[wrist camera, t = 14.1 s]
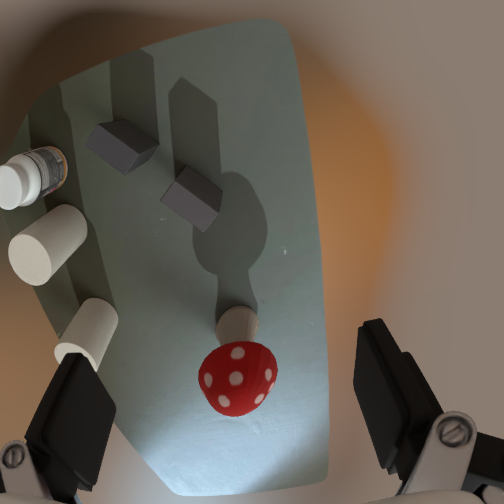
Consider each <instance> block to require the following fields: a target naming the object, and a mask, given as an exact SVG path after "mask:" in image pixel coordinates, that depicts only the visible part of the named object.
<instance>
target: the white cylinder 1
mask: <svg viewBox="0 0 504 504" xmlns="http://www.w3.org/2000/svg"><path fill="white" fill-rule="evenodd" d="M86 236H87V223H86V220H85V218H84V216H83V214H82V213H81V212H80V211H79V210H78V209H77V208H75V207H74V206H71V205H68V204H63V205H59V206H57V207H56V208H54V209H53V210H51V211H50V212H48V213H47V214H45V215H44V216H43V217H41V218H40V219H38V220H37V221H35V222H34V223H33V224H31V225H30V226H28V227H27V228H26V229H24V230H23V231H22V232H20V233H19V234H18V235H16V236H15V237H14V238H13V239H12V240H11V242H10V245H9V259H10V263H11V265H12V267H13V269H14V271H15V272H16V274H17V275H18V276H19V277H20V278H21V279H22V280H23V281H25V282H26V283H29V284H31V285H42V284H44V283H46V282H47V281H48V280H49V278H50V277H51V276H52V275H53V274H54V273H55V272H56V271H57V270H58V269H59V268H60V266H61V265H62V264H63V263H64V262H65V261H66V260H67V259H68V258H69V257H70V256H71V255H72V254H73V253H74V252H75V251H76V249H77V248H78V247H79V246H80V245H81V244H82V243H83V242H84V241H85V239H86Z"/></svg>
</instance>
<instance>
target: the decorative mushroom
mask: <svg viewBox="0 0 504 504" xmlns="http://www.w3.org/2000/svg"><path fill="white" fill-rule="evenodd" d="M258 327H259V320H258V317H257V316H256V314H255V312H254V311H253V310H252V309H251V308H249V307H247V306H243V305H242V306H235V307H232V308H230V309H228V310H227V311H226V312H225V313H224V314H223V315H222V316H221V318H220V320H219V322H218V324H217V326H216V331H215V333H216V338H217V339H218V341H219V342H220V345H221V346H220V347H218V348H217V349H215V350H213V351H212V352H211V353H210V354H209V355H208V356H207V357H206V358H205V359H204V361H203V363H202V365H201V367H200V369H199V375H198V380H199V385H200V388H201V390H202V392H203V394H204V396H205V397H206V398H207V400H208V402H209V403H210V405H211V406H212V407H213V408H214V409H215V410H216V411H217V412H219V413H221V414H223V415H226V416H231V417H235V416H242V415H245V414H247V413H250V412H252V411H253V410H254V409H256V408H257V407H258V406H259V405H260V404H261V403H262V402H263V400H264V399H265V397H266V396H267V394H268V393H269V392H270V391H271V389H272V388H273V387H274V384H275V380H276V377H277V372H278V368H277V362H276V359H275V357H274V355H273V354H272V353H271V351H270V350H269V349H268V348H266V347H265V346H263V345H262V344H259V343H255V342H254V337H255V335H256V333H257V331H258Z"/></svg>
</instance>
